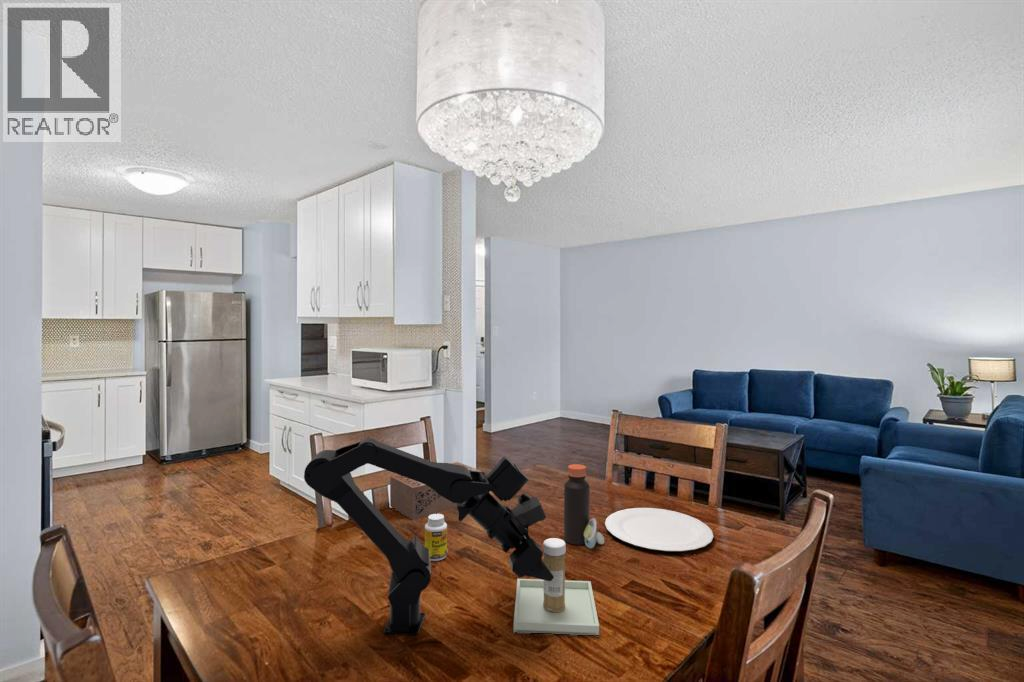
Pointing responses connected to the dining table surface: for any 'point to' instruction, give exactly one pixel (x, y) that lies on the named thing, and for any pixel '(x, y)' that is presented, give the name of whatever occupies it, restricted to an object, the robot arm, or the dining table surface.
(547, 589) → the spice jar
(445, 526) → the supplement bottle
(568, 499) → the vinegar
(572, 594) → the tray
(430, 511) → the tissue box cover
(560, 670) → the dining table surface
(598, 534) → the pacifier
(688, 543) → the plate
